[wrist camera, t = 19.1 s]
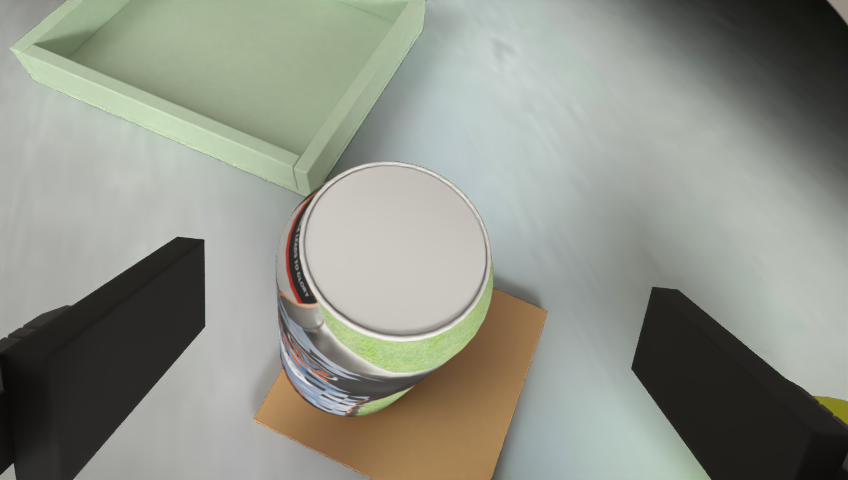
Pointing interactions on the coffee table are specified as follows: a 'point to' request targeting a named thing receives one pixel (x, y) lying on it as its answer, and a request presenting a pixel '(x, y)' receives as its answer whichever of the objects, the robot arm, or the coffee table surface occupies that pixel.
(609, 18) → the coffee table surface
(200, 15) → the tray
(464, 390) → the coaster
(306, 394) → the beverage can
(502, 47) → the coffee table surface
